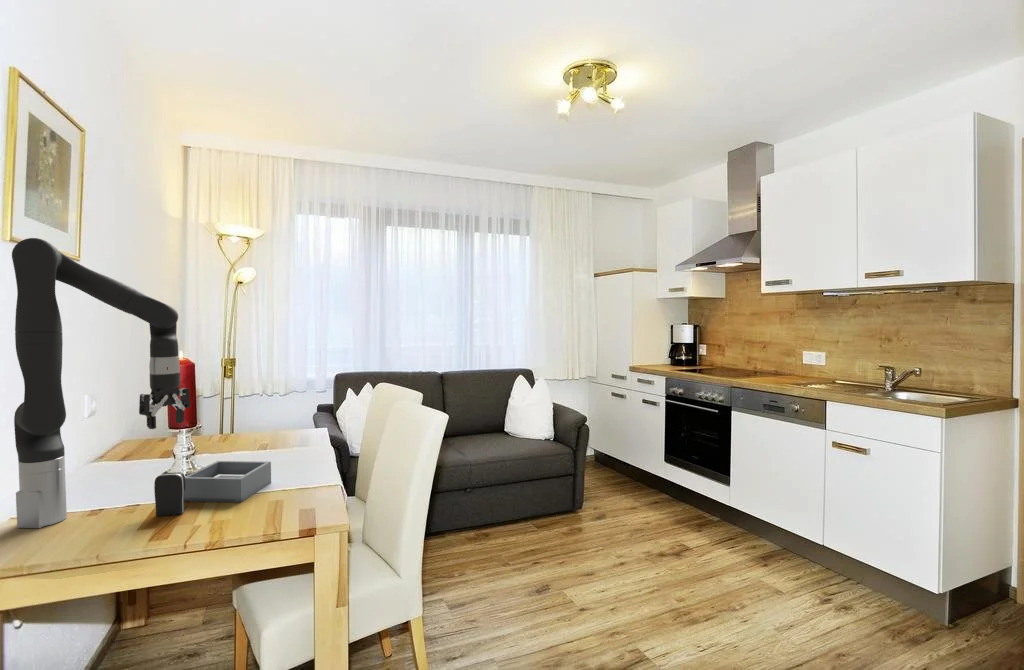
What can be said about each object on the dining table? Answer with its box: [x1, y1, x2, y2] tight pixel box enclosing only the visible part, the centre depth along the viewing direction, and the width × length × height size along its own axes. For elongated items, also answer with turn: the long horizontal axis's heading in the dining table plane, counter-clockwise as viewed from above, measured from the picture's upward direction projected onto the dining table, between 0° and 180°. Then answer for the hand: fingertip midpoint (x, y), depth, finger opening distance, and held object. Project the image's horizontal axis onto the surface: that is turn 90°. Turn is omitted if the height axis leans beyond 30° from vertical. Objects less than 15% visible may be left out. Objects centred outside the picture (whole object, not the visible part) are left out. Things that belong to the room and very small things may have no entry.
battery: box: [153, 472, 186, 517], centre depth 146 cm, size 7×4×11 cm, turn 103°
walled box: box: [184, 460, 272, 503], centre depth 164 cm, size 18×18×7 cm
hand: (166, 425), depth 156 cm, fingers open, 8 cm apart
